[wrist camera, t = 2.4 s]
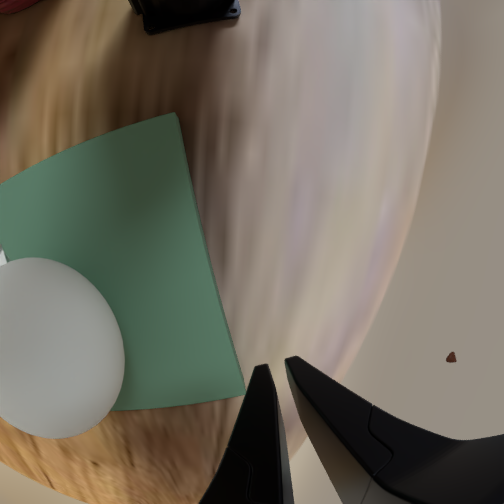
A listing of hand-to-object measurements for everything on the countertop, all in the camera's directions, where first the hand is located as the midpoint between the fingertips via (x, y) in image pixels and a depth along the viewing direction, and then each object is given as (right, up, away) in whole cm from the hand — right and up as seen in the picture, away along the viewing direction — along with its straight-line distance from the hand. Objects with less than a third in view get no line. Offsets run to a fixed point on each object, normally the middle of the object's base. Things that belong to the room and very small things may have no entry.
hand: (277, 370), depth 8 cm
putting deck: (-19, -1, +9) cm, 21 cm away
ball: (-12, -2, +3) cm, 13 cm away
